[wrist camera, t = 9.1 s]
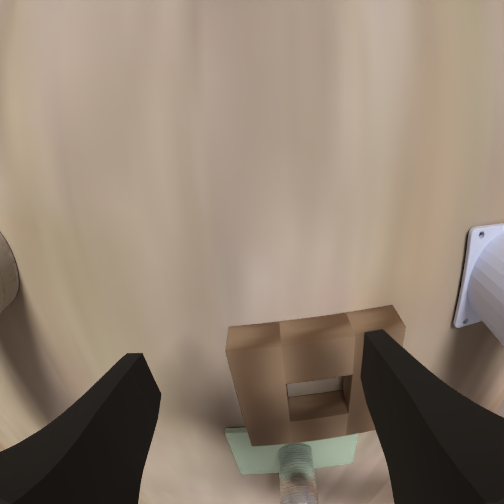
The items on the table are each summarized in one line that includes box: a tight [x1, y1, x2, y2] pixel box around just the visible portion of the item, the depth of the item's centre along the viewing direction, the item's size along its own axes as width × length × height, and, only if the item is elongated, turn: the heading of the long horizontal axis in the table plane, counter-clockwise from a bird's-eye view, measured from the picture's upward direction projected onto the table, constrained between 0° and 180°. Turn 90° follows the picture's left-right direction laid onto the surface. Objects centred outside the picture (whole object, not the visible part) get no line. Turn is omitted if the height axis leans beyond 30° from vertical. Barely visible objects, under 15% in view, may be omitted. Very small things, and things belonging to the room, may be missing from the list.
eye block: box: [225, 305, 406, 446], centre depth 21 cm, size 11×11×2 cm
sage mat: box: [225, 427, 359, 475], centre depth 26 cm, size 12×9×1 cm
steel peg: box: [278, 443, 318, 504], centre depth 22 cm, size 3×3×9 cm
